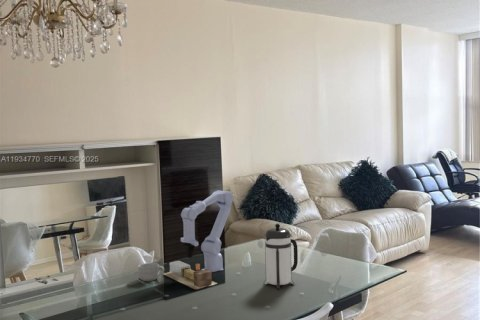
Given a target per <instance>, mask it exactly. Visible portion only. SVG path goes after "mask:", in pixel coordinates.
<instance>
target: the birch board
mask: <svg viewBox="0 0 480 320" xmlns="http://www.w3.org/2000/svg"><path fill="white" fill-rule="evenodd" d="M162 275H164V276H166V277H168V278H170V279H172V280H175V281H176V282H179V283H181V284H183V285H185V286H188V287H189V288H191V289H194V290H199V289H204V288H206V287H210V286H215V285H218V282H215V281H213V280H212V284H211V285H207V286H204V287H200V288H199V287H197V286H195V285H194V280H193V279H191V278H189V277H184V278H180V277H178V276H176V275H173V274H171V273H170V271H169V272H164V273H163V274H162Z"/></svg>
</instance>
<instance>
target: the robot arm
mask: <svg viewBox="0 0 480 320" xmlns="http://www.w3.org/2000/svg"><path fill="white" fill-rule="evenodd" d="M233 201H234V195H233V193H232V191H228V190H227V191H226V190H215V191H213V192H212V194H211V195H210V196H208V197H207V198H205V199H204V200H196V201H195V203H193V204H192V205H189V207H184V208H183V209H182V211H181V213H180V216H181V218H182V222H183V223H182V224H183V237H180V242H181V243H183V244H182V247H183V248H184V250H185V254H186V257H187V258H188V259H191V258H193V254H194V250H195V249H196V247H198V246H199V241H198V240H196V235H195V234H196V233H195V231H196V229H195V227H196V226H195V221H196V219H197V217H198V216H199V214H201V213H203V212H204V211H206V207H208V206H210V205H212V204H214V203H216V205H218V207H219V212H218V214H217V216H216V219H215V222H214V224H213V227H212V229H211V231H210V234H209V235H208V236H206V237H205V238H204V241H202V243H201V245H200V250H201V252H203V257H204V258H203V259H204V268H201V270H204V269H207V270H209V271H211V273H214V272H218V271H224V267H223V266H224V265H223V264H224V263H223V262H224V261H223V260H224V259H223V255H222V254H221V253H220V252H221V247H222V241H221V239H220V238H221V236H222V233H223V230H224V228H225V225H226V222H227V219H228V217H229V214H231V213H230V212H231V210H232V204H233Z"/></svg>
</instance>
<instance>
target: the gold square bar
mask: <svg viewBox="0 0 480 320" xmlns="http://www.w3.org/2000/svg"><path fill="white" fill-rule="evenodd" d="M200 270H201V264H200V263H195V270H193V269H192V268H191V269H189V268H185V269H183V275H184V276H186V277H189V278H191V279H193V280H194V272H196V271H200Z"/></svg>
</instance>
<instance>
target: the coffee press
mask: <svg viewBox="0 0 480 320" xmlns="http://www.w3.org/2000/svg"><path fill="white" fill-rule="evenodd" d="M291 237H292V233H291V232H290V230H289V229H287V228H284V227H281V225H280V223H276V224H275V225H274V227H273V228H269V229H268V230H266V231H265V233H264V239H265V240H264V241H265V242H264V246H265V247H264V252H265V253H264V257H265V260H264V261H265V279H264V281H263V283H265V282H266V283H267V284H270V285H273V286H276V290H281V286H285V285H288V284H290V285H291V284H295V281H294V280H293V276H292V274H293V273H292V272H294V271H295V270H296V269H297V266H298V261H299V260H298V259H299V256H298V244H297V241H296V240H295V239H292V238H291ZM292 245H293V264H292ZM291 281H292V282H291Z"/></svg>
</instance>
